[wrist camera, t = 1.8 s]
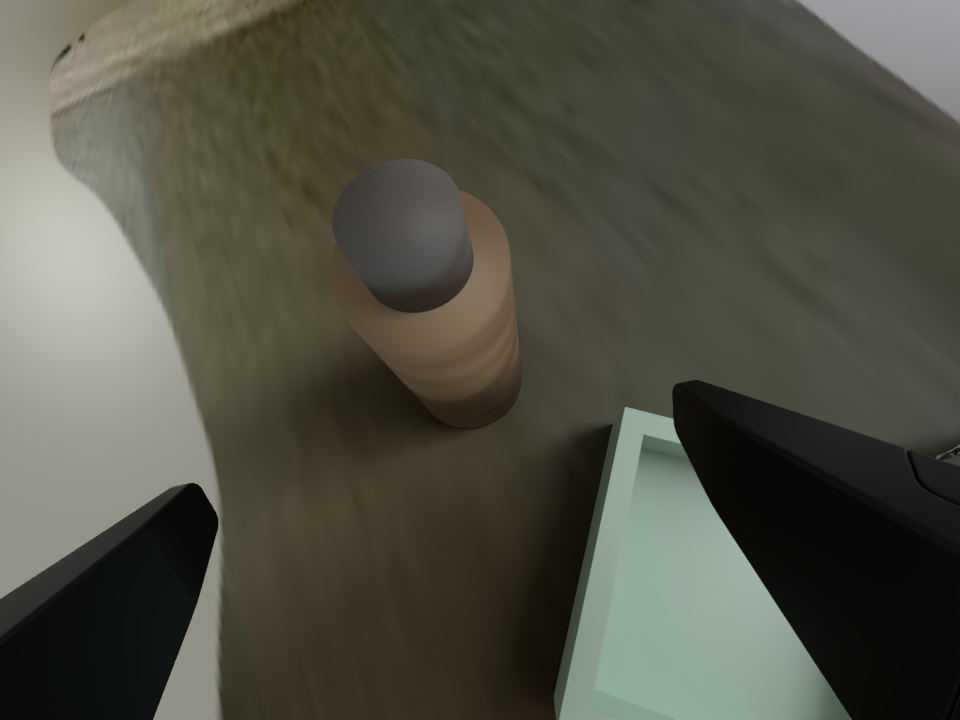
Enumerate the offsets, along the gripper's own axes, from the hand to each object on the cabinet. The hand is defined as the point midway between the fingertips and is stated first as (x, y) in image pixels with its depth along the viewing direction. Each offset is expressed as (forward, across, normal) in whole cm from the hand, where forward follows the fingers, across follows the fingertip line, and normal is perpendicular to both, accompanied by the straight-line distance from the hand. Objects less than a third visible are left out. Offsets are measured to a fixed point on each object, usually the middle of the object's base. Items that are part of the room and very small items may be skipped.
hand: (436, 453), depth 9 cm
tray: (+4, -8, +12) cm, 15 cm away
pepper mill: (+12, 0, +5) cm, 13 cm away
